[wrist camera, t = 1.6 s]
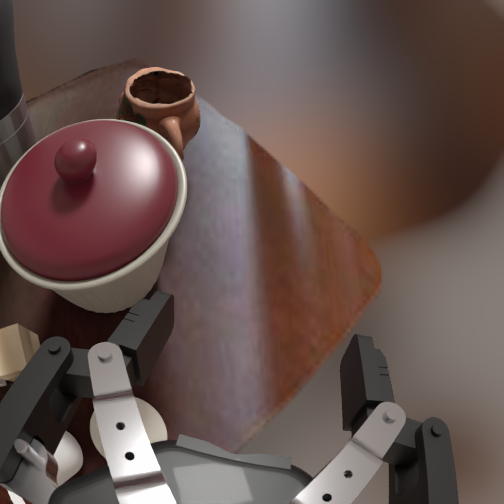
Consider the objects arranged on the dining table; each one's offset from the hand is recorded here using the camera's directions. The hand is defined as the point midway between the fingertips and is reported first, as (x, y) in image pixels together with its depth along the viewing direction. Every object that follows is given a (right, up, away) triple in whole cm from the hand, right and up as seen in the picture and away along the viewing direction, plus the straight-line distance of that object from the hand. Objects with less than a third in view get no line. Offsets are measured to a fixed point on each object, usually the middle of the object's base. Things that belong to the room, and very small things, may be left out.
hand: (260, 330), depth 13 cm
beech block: (-28, -10, +15) cm, 33 cm away
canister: (-19, +1, +23) cm, 30 cm away
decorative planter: (-16, +19, +33) cm, 41 cm away
